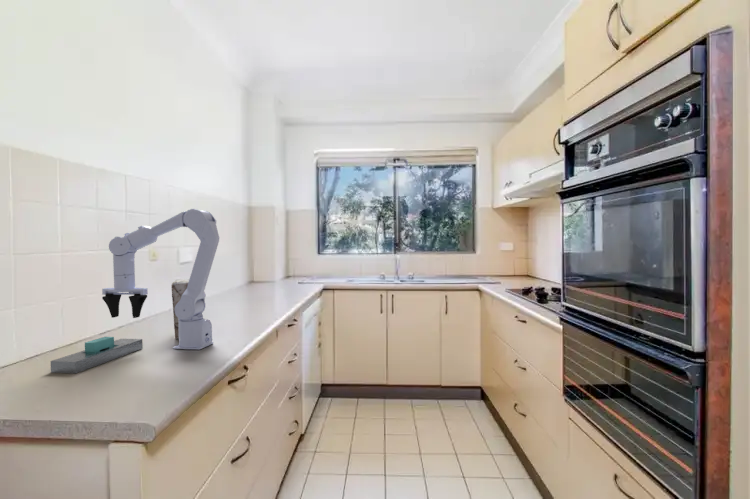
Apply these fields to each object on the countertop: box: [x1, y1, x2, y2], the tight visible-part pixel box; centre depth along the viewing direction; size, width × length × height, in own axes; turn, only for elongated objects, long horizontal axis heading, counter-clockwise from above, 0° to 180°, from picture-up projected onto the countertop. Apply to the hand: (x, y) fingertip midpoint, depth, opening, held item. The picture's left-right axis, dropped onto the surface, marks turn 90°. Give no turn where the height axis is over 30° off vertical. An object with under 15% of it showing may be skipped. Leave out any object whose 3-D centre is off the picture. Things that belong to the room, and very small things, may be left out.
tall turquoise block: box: [84, 336, 115, 354], centre depth 116 cm, size 7×3×5 cm, turn 171°
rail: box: [50, 338, 143, 374], centre depth 116 cm, size 7×24×3 cm, turn 171°
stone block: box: [171, 278, 190, 340], centre depth 145 cm, size 13×7×20 cm, turn 25°
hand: (125, 317), depth 128 cm, fingers open, 7 cm apart
